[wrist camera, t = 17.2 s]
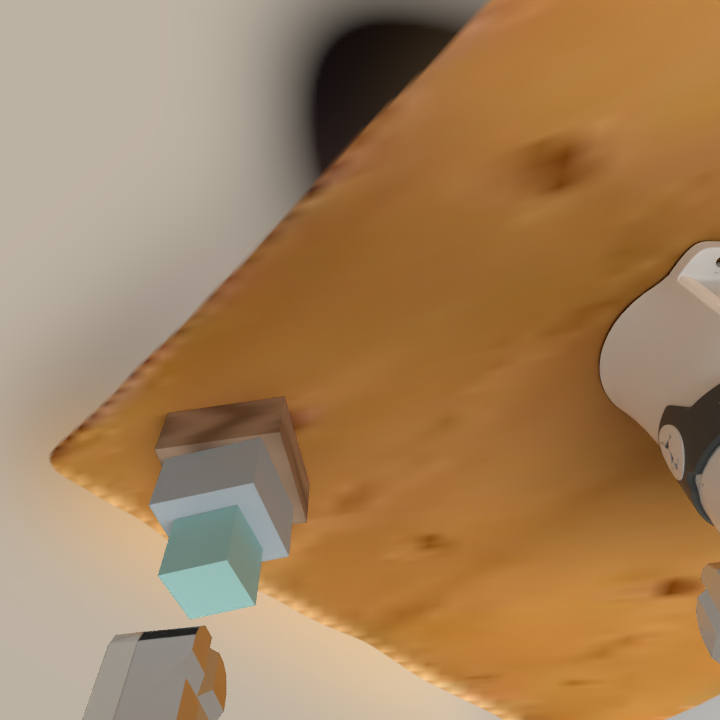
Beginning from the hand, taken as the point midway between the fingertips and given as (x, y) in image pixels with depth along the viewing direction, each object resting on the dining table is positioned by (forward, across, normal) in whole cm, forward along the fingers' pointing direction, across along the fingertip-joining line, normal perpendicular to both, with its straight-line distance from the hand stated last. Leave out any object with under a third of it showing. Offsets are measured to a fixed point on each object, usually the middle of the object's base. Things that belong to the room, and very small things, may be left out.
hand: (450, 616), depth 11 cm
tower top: (+32, +16, +25) cm, 44 cm away
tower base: (+38, +16, +26) cm, 48 cm away
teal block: (+28, +16, +26) cm, 41 cm away
